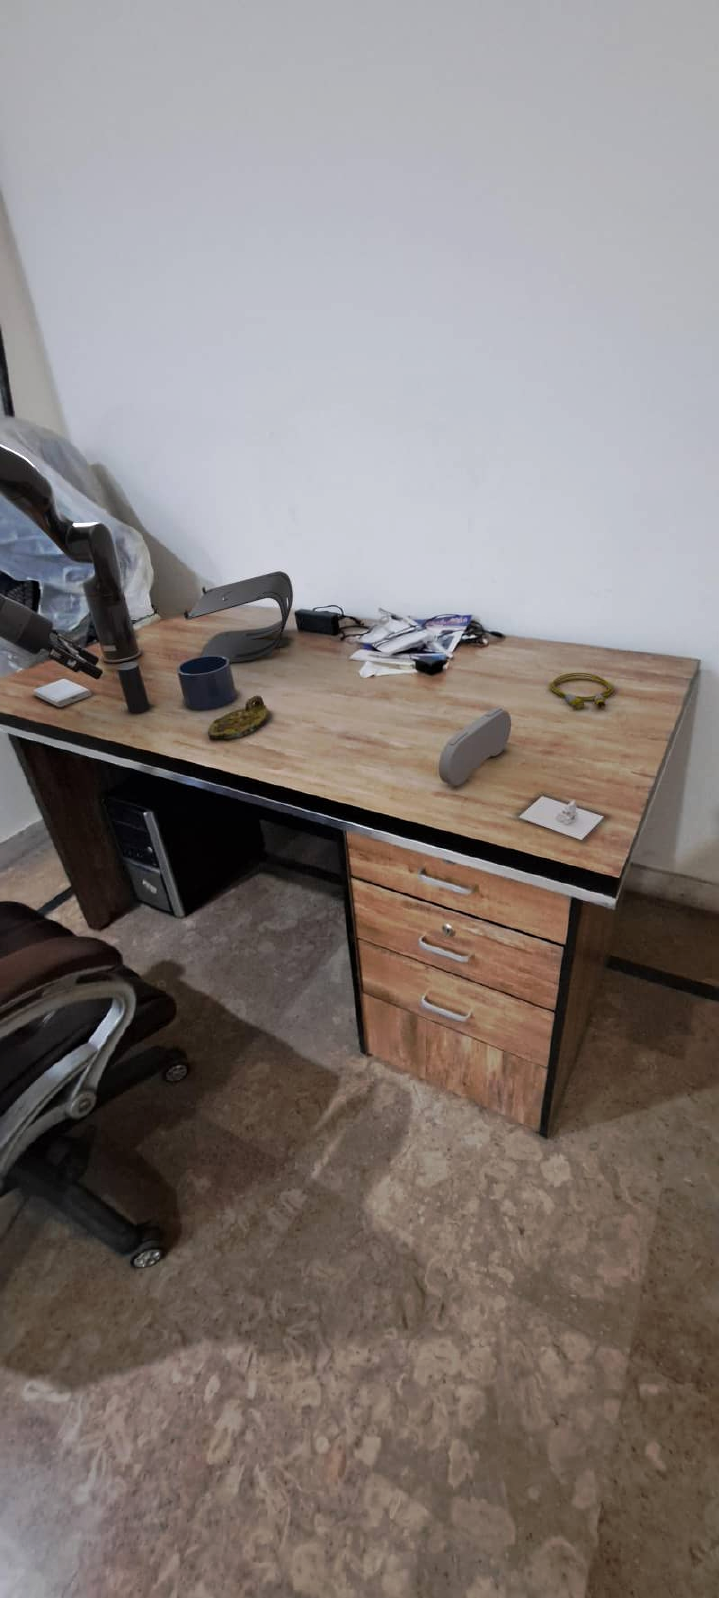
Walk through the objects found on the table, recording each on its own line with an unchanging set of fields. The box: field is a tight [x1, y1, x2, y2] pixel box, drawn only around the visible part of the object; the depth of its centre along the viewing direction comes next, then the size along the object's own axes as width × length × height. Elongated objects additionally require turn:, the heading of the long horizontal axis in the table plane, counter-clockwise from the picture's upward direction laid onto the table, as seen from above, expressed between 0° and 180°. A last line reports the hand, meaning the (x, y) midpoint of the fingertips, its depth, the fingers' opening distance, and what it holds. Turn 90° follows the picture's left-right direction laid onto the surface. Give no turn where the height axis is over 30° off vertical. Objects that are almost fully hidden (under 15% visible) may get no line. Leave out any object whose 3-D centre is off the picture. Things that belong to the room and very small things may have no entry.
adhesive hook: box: [554, 799, 579, 825], centre depth 98 cm, size 3×3×3 cm
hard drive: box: [32, 678, 92, 708], centre depth 157 cm, size 2×8×12 cm
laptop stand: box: [183, 570, 294, 664], centre depth 172 cm, size 26×24×16 cm
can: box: [176, 655, 237, 711], centre depth 146 cm, size 11×11×8 cm
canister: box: [115, 661, 151, 715], centre depth 144 cm, size 5×5×10 cm
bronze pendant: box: [207, 694, 269, 740], centre depth 134 cm, size 9×5×15 cm
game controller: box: [438, 707, 512, 787], centre depth 112 cm, size 20×2×8 cm, turn 140°
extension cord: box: [550, 672, 613, 710], centre depth 134 cm, size 12×16×2 cm
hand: (98, 668), depth 140 cm, fingers open, 8 cm apart
